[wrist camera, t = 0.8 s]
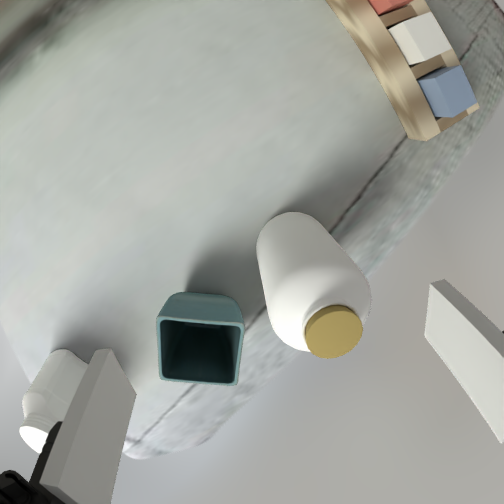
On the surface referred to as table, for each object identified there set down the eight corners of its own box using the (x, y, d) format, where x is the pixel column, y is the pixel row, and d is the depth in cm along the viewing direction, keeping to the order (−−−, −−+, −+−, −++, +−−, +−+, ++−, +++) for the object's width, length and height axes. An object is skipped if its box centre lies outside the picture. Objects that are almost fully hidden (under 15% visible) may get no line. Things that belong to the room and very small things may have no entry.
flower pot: (242, 282, 39) (246, 323, 31) (235, 340, 42) (237, 387, 34) (170, 275, 38) (155, 315, 30) (170, 334, 41) (159, 380, 33)
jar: (42, 373, 44) (7, 435, 30) (54, 339, 41) (11, 407, 27) (98, 407, 47) (75, 475, 33) (117, 378, 44) (91, 454, 30)
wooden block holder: (316, -11, 27) (325, -25, 23) (379, -32, 25) (392, -44, 21) (408, 138, 34) (426, 141, 30) (460, 107, 32) (479, 107, 28)
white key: (381, 32, 27) (402, 21, 22) (408, 21, 26) (431, 11, 22) (402, 66, 29) (425, 60, 24) (427, 54, 28) (452, 48, 23)
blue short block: (410, 82, 29) (434, 78, 25) (435, 69, 29) (460, 64, 24) (427, 116, 31) (452, 117, 26) (451, 102, 30) (477, 102, 25)
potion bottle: (261, 282, 39) (281, 389, 23) (249, 216, 36) (266, 295, 19) (327, 269, 39) (386, 364, 23) (321, 204, 36) (392, 270, 19)
